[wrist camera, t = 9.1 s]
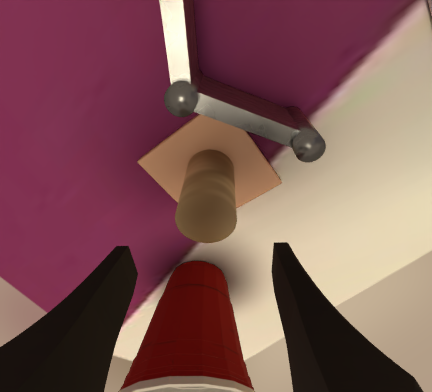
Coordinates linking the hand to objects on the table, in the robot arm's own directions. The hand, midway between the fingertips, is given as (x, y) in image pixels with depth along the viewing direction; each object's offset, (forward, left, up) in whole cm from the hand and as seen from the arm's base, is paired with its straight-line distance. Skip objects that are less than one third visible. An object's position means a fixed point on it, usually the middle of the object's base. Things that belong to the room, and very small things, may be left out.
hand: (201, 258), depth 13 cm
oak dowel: (0, 0, -9) cm, 9 cm away
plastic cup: (-10, +9, -10) cm, 16 cm away
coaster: (0, 0, -9) cm, 9 cm away
